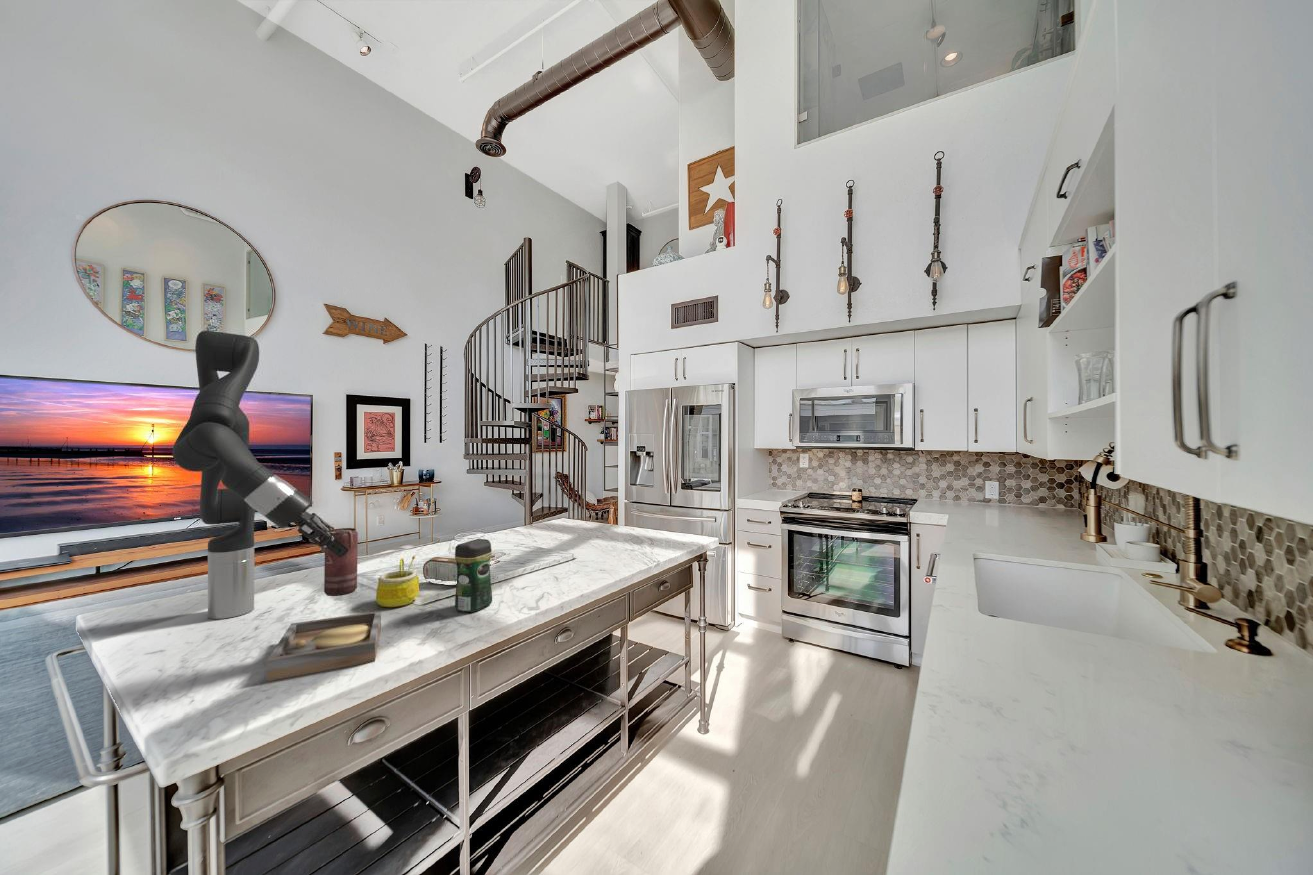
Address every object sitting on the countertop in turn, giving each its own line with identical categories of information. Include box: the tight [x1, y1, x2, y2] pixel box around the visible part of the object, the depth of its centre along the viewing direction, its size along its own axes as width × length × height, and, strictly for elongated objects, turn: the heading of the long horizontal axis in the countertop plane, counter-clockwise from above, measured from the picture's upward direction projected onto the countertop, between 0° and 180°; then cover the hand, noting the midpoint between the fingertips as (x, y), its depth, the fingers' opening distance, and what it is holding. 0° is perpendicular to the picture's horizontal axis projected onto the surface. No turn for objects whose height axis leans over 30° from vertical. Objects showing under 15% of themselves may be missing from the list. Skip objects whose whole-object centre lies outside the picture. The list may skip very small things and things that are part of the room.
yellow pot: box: [375, 555, 420, 608], centre depth 135 cm, size 13×11×12 cm
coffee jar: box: [454, 538, 493, 613], centre depth 131 cm, size 10×8×19 cm
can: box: [323, 527, 359, 597], centre depth 106 cm, size 6×6×14 cm
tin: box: [422, 556, 457, 582], centre depth 150 cm, size 15×3×8 cm, turn 77°
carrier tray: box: [266, 610, 382, 682], centre depth 104 cm, size 20×18×5 cm
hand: (345, 550), depth 106 cm, fingers closed on can, 6 cm apart
